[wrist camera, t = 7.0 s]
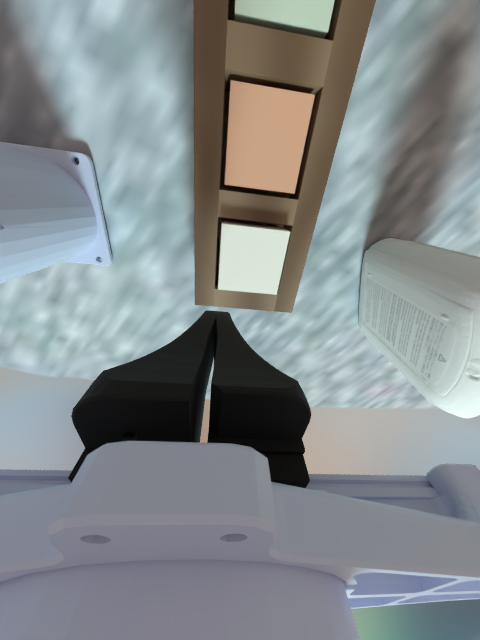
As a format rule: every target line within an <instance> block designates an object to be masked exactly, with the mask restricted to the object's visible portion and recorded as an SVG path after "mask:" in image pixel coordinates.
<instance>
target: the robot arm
mask: <svg viewBox="0 0 480 640" xmlns="http://www.w3.org/2000/svg"><path fill="white" fill-rule="evenodd" d="M76 157H77V158H78V159H79V164H78V165H77V164H76V162H75V158H76ZM98 257H100V258H101V259H102V261H100V260H99V259H98ZM62 261H64V262H74V263H85V264H95V265H106V266H107V265H110V264H112V262H113V259H112V254H111V249H110V244H109V239H108V235H107V230H106V225H105V220H104V215H103V210H102V205H101V200H100V195H99V191H98V186H97V181H96V176H95V171H94V166H93V162H92V160H91V158H90V157H89V156H88V155H86V154H83V153H79V152H72V151H65V150H57V149H50V148H43V147H36V146H28V145H21V144H14V143H6V142H0V284H1V283H4V282H7V281H9V280H12V279H15V278H18V277H21V276H23V275H26V274H29V273H32V272H35V271H37V270H40V269H43V268H46V267H49V266H51V265H54V264H57V263H60V262H62ZM213 358H214V370H213V377H212V383H211V400H210V419H209V420H210V421H209V433H208V443H200V436H201V427H202V419H203V411H204V402H205V395H206V389H207V385H208V380H209V376H210V372H211V367H212V363H213ZM310 418H311V411H310V407H309V404H308V402H307V399H306V397H305V395H304V392H303V391H302V389H301V387H300V385H299V383H298V381H296V380H295V379H293V378H291V377H289V376H288V375H286V374H284V373H282V372H281V371H279V370H277V369H276V368H275V367H273V366H272V365H270V364H269V363H268V362H266V361H265V360H264V359H263V358H261V357H260V356H259V355H258V354H257V353H256V352H255V351H254V350H253V349H252V348H251V347H250V346H249V345H248V344H247V343H246V341H245V340H244V339H243V337H242V336H241V335H240V333H239V331H238V330H237V328H236V327H235V325H234V323H233V321H232V319H231V316H230V314H229V313H228V312H219V311H205V312H204V313H203V314H202V316H201V317H200V318H199V319H198V320H197V321H196V322H195V323H194V324H193V325H192V326H191V327H190V328H189V329H188V330H186V331H185V332H184V333H183V334H182V335H180V336H179V337H178V338H176V339H175V340H174V341H172V342H171V343H169V344H167V345H165V346H164V347H162V348H160V349H158V350H156V351H154V352H152V353H150V354H148V355H146V356H144V357H141V358H139V359H137V360H134V361H132V362H129V363H126V364H123V365H120V366H117V367H114V368H111V369H108V370H105V371H103V372H102V373H101V374H100V375H99V376H98V377H97V379H96V380H95V381H94V382H93V383H92V385H91V386H90V387H89V389H88V390H87V391H86V393H85V394H84V395H83V397H82V398H81V399H80V401H79V402H78V403H77V404H76V406H75V407H74V408H73V412H72V420H73V423H74V426H75V428H76V430H77V432H78V434H79V436H80V438H81V440H82V442H83V444H84V446H85V450H84V452H83V453H82V455H81V457H80V458H79V460H78V462H77V464H76V465H75V467H74V469H73V470H72V471H70V470H69V471H66V470H2V469H0V640H360V638H359V635H358V631H357V628H356V624H355V621H354V618H353V614H352V611H351V609H355V608H366V607H377V606H389V605H400V604H413V603H424V602H437V601H450V600H467V599H480V470H479V469H478V468H477V467H476V466H475V465H471V464H441V465H438V466H436V467H434V468H432V469H431V470H430V471H429V472H428V473H427V475H426V476H407V475H405V476H403V475H340V474H338V475H337V474H334V475H333V474H308V471H307V468H306V464H305V460H304V457H303V454H304V452H305V448H304V445H303V441H302V437H303V435H304V433H305V430H306V428H307V426H308V424H309V422H310Z"/></svg>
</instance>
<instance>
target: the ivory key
mask: <svg viewBox="0 0 480 640" xmlns="http://www.w3.org/2000/svg"><path fill="white" fill-rule="evenodd" d="M289 236H290V231H288V230H286V229H285V228H279V227H271V226H262V225H254V224H245V223H237V222H228V221H223V222H222V228H221V245H220V263H219V280H218V290H229V291H240V292H252V293H263V294H274V295H277V291H278V286H279V282H280V277H281V273H282V268H283V263H284V259H285V254H286V249H287V245H288V240H289Z"/></svg>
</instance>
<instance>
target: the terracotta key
mask: <svg viewBox="0 0 480 640" xmlns="http://www.w3.org/2000/svg"><path fill="white" fill-rule="evenodd" d="M314 97H315V95H313V94H307V93H302V92H296V91H290V90H284V89H279V88H273V87H267V86H262V85H256V84H250V83H244V82H239V81H233V80H231V84H230V101H229V118H228V135H227V152H226V169H225V186H226V187H233V188H241V189H248V190H256V191H264V192H271V193H279V194H286V195H288V194H295V189H296V184H297V179H298V174H299V170H300V165H301V160H302V155H303V150H304V146H305V141H306V136H307V131H308V126H309V121H310V117H311V112H312V107H313V102H314Z"/></svg>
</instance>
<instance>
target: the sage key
mask: <svg viewBox="0 0 480 640" xmlns="http://www.w3.org/2000/svg"><path fill="white" fill-rule="evenodd" d="M334 1H335V0H235V21H236V22H241V23H246V24H251V25H256V26H261V27H266V28H271V29H276V30H281V31H286V32H291V33H296V34H301V35H306V36H311V37H316V38H322V39H324V38H325V36H326V34H327V33H328V30H329V25H330V20H331V15H332V11H333V6H334Z"/></svg>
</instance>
